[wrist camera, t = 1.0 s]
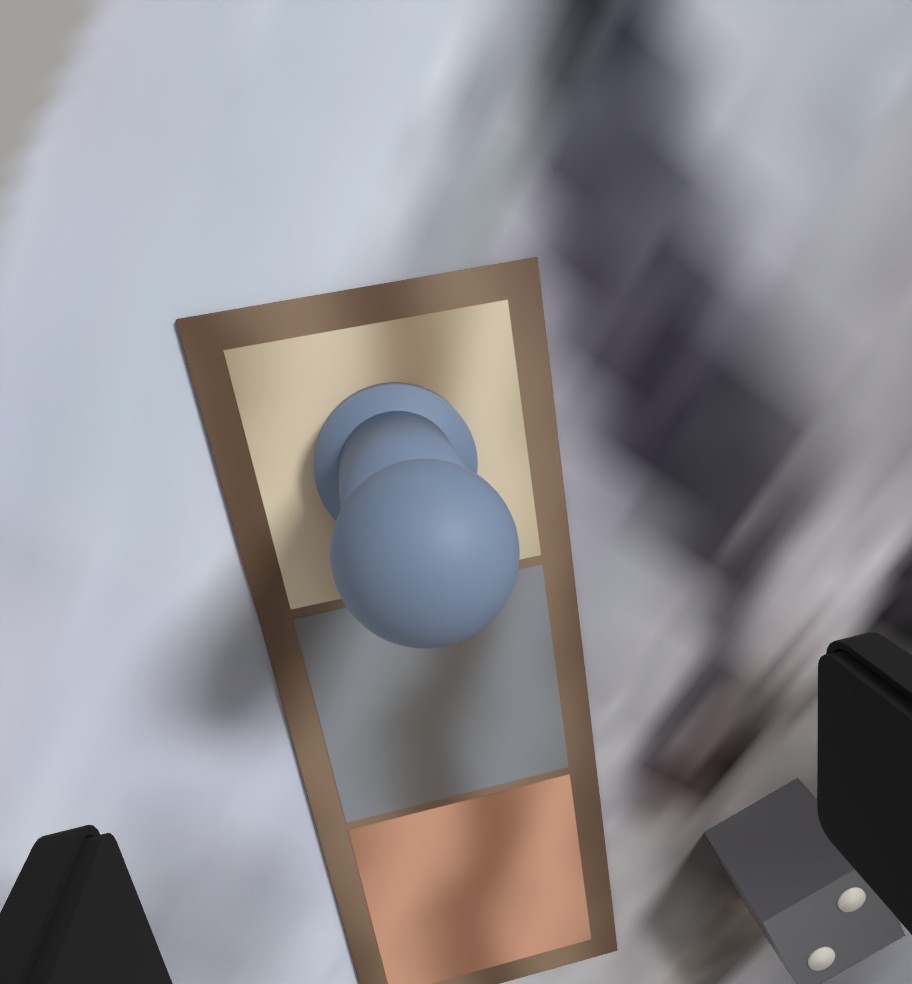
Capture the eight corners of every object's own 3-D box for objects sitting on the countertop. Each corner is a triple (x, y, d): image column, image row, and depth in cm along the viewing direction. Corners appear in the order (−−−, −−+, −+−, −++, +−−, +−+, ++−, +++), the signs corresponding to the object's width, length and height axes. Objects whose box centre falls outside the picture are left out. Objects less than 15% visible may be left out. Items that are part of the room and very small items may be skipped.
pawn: (459, 368, 25) (548, 444, 15) (482, 517, 27) (576, 674, 17) (298, 398, 25) (278, 498, 15) (333, 549, 27) (337, 731, 16)
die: (796, 776, 34) (872, 861, 29) (829, 846, 36) (906, 936, 31) (703, 831, 34) (763, 923, 29) (740, 897, 36) (803, 995, 31)
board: (535, 257, 25) (537, 257, 25) (616, 947, 35) (617, 950, 35) (176, 319, 24) (175, 319, 24) (369, 1016, 34) (370, 1020, 34)
